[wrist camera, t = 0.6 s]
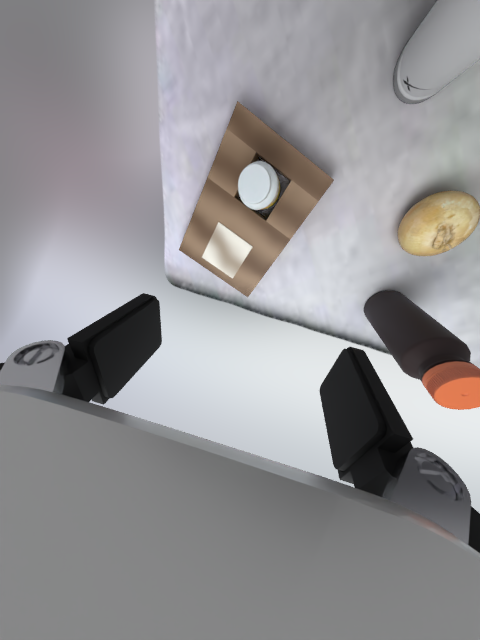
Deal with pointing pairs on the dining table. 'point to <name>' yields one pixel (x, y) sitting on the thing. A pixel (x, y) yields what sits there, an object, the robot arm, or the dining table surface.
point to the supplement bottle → (259, 186)
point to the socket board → (239, 220)
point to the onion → (438, 223)
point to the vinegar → (425, 350)
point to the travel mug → (438, 50)
